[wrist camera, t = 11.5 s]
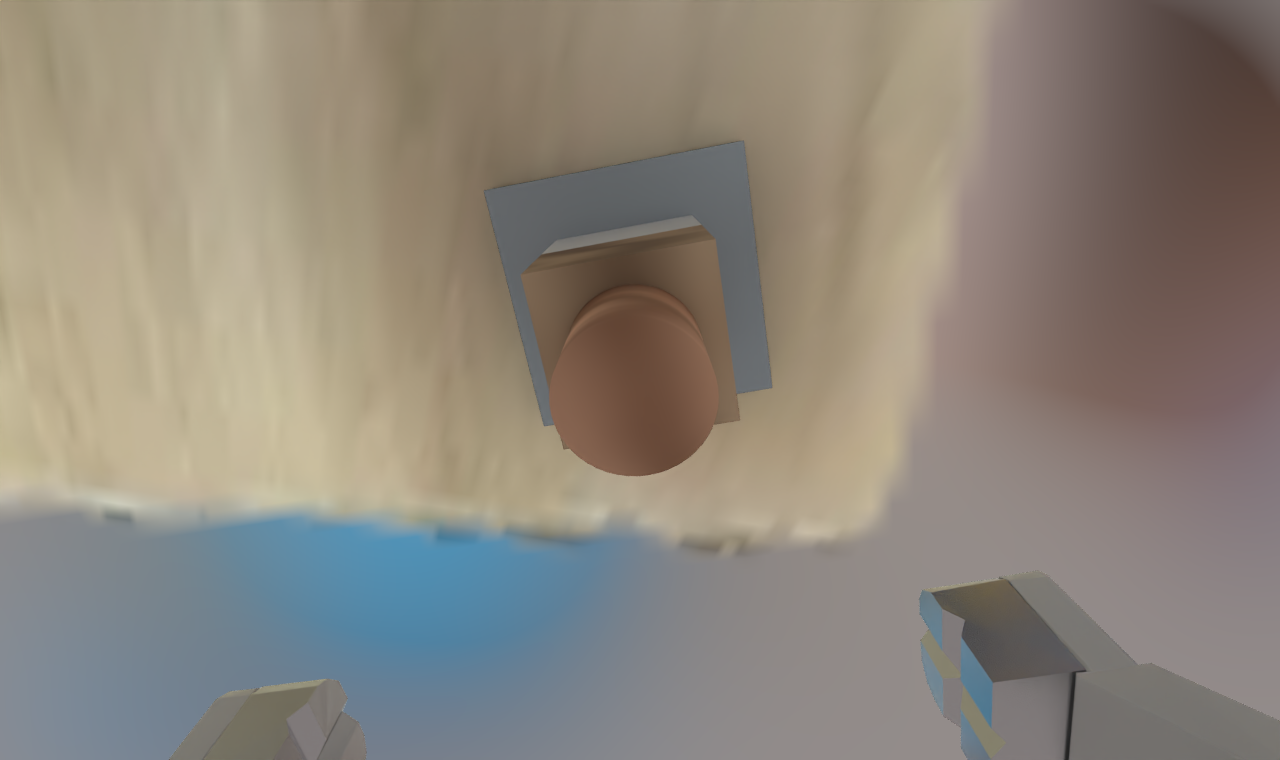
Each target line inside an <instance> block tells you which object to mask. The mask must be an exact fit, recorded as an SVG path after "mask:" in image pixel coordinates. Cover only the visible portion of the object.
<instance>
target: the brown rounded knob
mask: <svg viewBox="0 0 1280 760" xmlns="http://www.w3.org/2000/svg"><path fill="white" fill-rule="evenodd" d="M718 404H719V391H718V384H717V379H716V375H715V372H714V370H713V367H712V364H711V361H710V358H709V356H708V353H707V350H706V347H705V345H704V342H703V339H702V336H701V333H700V331H699V328H698V325H697V323H696V321H695V319H694V317H693V315H692V314H691V313H690V311H689V310H688V308H687V307H686V306H685V305H684V304H683V303H682V302H681V301H680V300H678V299H677V298H676V297H675V296H673V295H671V294H670V293H668V292H666V291H664V290H661V289H659V288H656V287H653V286H649V285H642V284H628V285H621V286H617V287H613V288H611V289H608V290H606V291H604V292H602V293H600V294H598V295H597V296H595V297H594V298H593V299H591V300H590V301H589V302H588V303H587V304H586V305H585V306H584V307H583V308H582V309H581V311H580V312H579V313H578V315H577V317H576V318H575V320H574V322H573V325H572V327H571V330H570V332H569V335H568V337H567V339H566V342H565V344H564V347H563V349H562V352H561V354H560V357H559V359H558V362H557V364H556V367H555V369H554V372H553V375H552V379H551V383H550V390H549V405H550V411H551V416H552V419H553V422H554V425H555V427H556V429H557V431H558V433H559V435H560V436H561V438H562V439H563V441H564V442H565V444H566V445H567V446H568V447H569V448H570V449H571V450H572V451H573V452H574V453H575V454H576V455H577V456H578V457H579V458H581V459H582V460H584V461H585V462H587V463H588V464H590V465H592V466H594V467H596V468H598V469H601V470H603V471H606V472H609V473H613V474H617V475H625V476H643V475H651V474H655V473H659V472H662V471H665V470H668V469H670V468H672V467H674V466H676V465H678V464H680V463H682V462H683V461H685V460H686V459H688V458H689V457H690V456H691V455H692V454H693V453H695V452H696V451H697V449H698V448H699V447H700V446H701V445H702V444H703V442H704V441H705V440H706V438H707V437H708V435H709V433H710V431H711V429H712V427H713V425H714V422H715V419H716V416H717V411H718Z"/></svg>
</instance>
